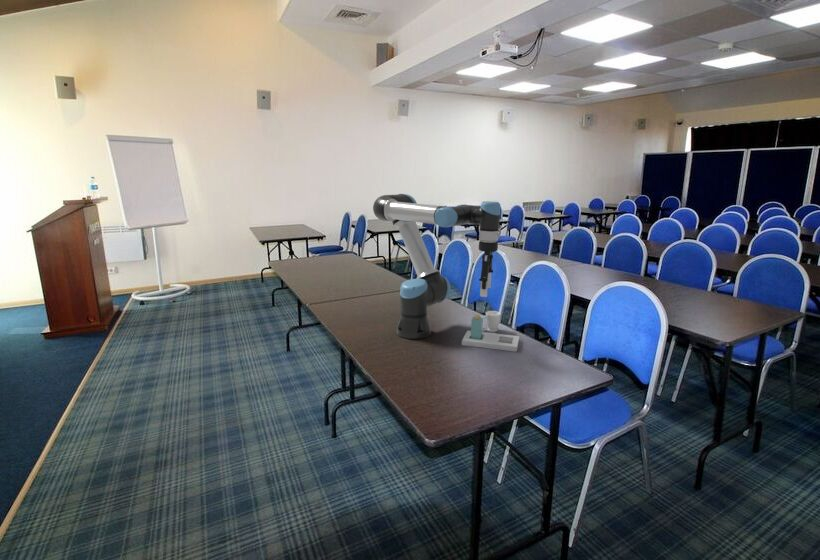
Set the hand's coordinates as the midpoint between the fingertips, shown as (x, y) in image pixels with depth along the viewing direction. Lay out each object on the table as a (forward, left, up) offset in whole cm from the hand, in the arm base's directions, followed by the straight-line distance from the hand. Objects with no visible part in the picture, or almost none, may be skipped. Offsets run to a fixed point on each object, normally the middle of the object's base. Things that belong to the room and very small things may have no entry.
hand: (485, 292), depth 172 cm
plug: (-3, -3, -21) cm, 21 cm away
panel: (+3, -3, -21) cm, 21 cm away
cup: (+1, +12, -21) cm, 24 cm away
